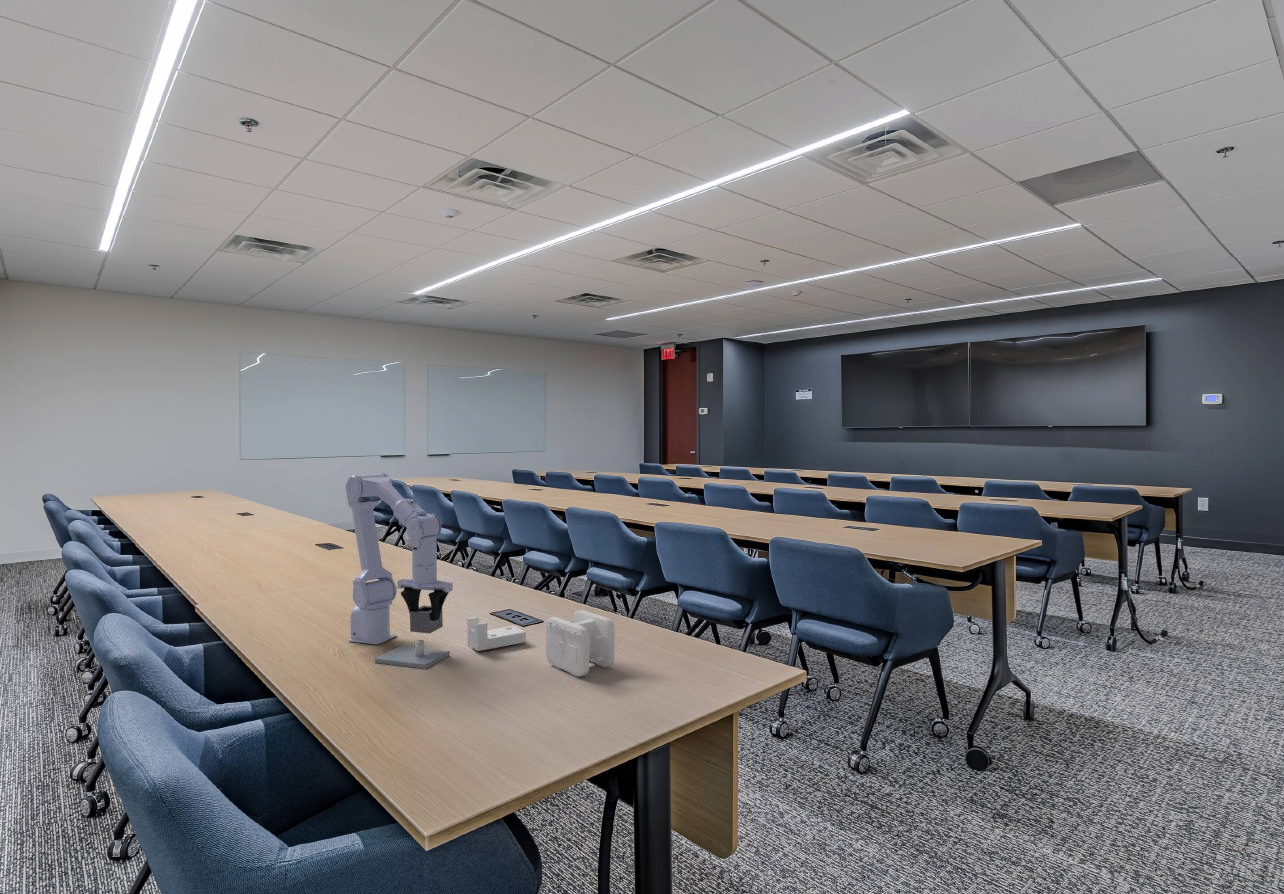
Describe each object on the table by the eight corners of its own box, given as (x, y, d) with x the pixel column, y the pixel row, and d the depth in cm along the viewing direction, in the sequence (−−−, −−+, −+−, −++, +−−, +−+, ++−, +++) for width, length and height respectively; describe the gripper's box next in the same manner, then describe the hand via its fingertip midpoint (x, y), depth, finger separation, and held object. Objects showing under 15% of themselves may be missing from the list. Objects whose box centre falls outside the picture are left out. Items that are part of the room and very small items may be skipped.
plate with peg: (374, 662, 162) (374, 643, 161) (401, 649, 171) (401, 631, 171) (424, 668, 157) (424, 649, 157) (449, 655, 167) (449, 636, 167)
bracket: (477, 654, 168) (477, 624, 168) (467, 647, 174) (467, 618, 174) (525, 645, 175) (525, 616, 175) (514, 638, 181) (514, 610, 181)
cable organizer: (617, 670, 156) (617, 620, 156) (581, 681, 149) (581, 629, 149) (578, 654, 168) (578, 607, 167) (543, 664, 161) (542, 615, 160)
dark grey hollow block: (410, 631, 166) (409, 611, 165) (423, 624, 171) (423, 605, 171) (429, 633, 164) (429, 613, 164) (442, 626, 169) (442, 606, 169)
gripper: (389, 565, 165) (389, 620, 165) (440, 568, 161) (441, 625, 161) (407, 560, 172) (407, 613, 172) (457, 563, 167) (457, 617, 168)
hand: (425, 618), depth 167 cm, fingers closed on dark grey hollow block, 5 cm apart
